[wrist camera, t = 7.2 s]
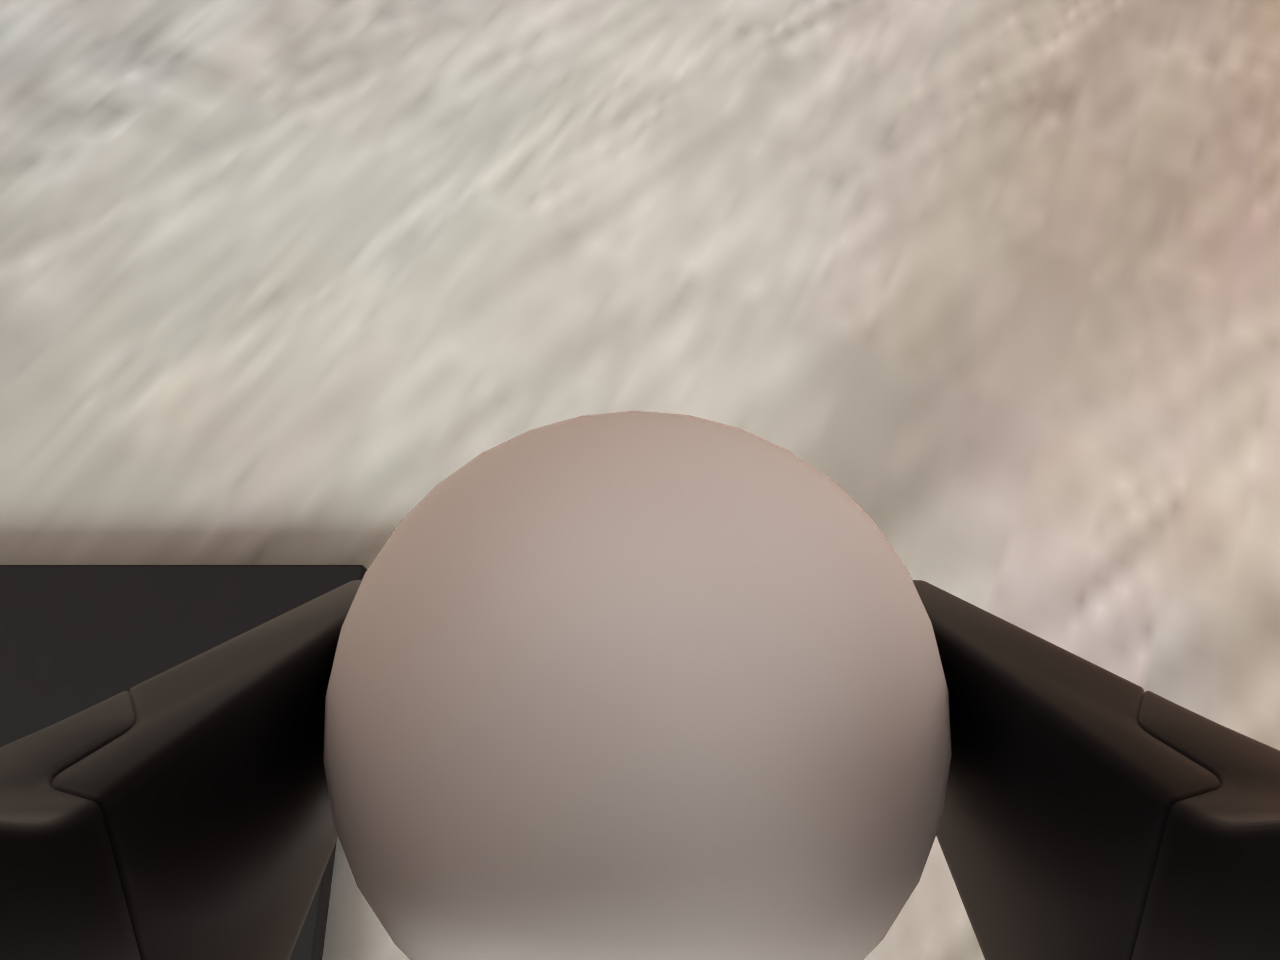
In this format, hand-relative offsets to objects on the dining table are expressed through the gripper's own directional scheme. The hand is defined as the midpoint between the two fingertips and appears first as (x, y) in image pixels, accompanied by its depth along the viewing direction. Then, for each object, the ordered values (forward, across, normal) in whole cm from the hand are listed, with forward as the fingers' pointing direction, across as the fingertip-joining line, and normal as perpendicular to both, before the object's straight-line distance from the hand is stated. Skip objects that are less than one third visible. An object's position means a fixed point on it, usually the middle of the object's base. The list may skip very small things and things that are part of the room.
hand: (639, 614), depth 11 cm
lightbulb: (+4, 0, +6) cm, 7 cm away
